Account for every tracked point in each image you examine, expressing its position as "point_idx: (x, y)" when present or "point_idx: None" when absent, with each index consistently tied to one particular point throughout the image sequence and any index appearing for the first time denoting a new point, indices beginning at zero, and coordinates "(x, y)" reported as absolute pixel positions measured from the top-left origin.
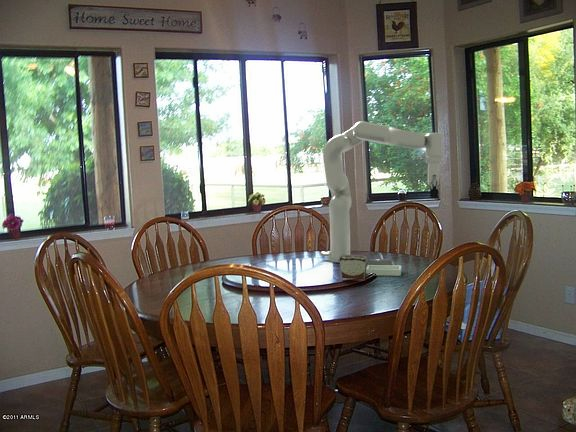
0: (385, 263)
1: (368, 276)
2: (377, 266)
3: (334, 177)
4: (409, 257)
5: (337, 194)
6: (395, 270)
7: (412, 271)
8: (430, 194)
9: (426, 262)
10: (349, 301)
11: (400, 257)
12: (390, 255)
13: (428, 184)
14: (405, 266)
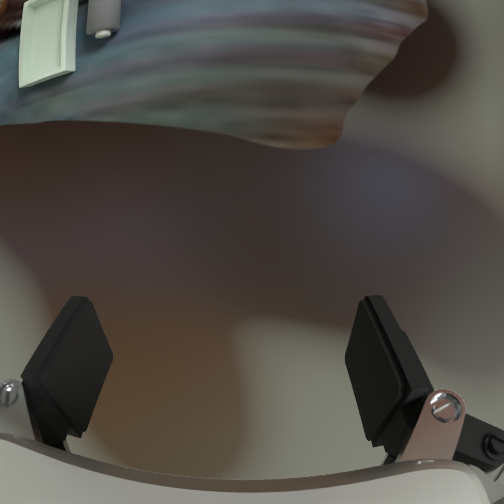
0: (87, 17)
1: None
2: (65, 7)
3: None
4: (329, 73)
5: None
6: (20, 74)
7: (77, 102)
8: (368, 311)
9: (230, 131)
10: None
11: (327, 42)
12: (365, 15)
13: (3, 434)
14: (148, 65)
